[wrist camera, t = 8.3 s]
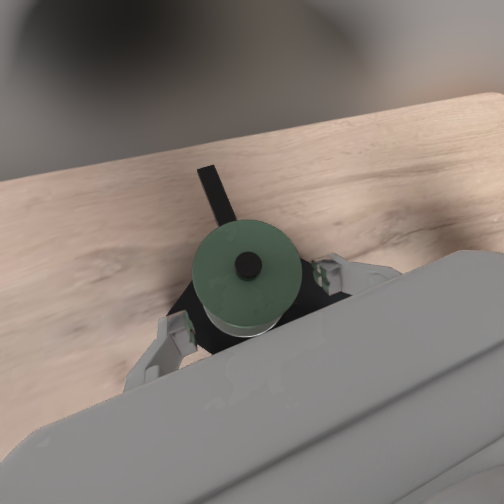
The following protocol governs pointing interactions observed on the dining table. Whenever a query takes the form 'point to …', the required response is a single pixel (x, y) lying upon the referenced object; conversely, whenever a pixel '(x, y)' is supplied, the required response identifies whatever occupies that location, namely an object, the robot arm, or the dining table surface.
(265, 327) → the burner
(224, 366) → the robot arm
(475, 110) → the dining table surface
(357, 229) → the dining table surface
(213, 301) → the saucepan
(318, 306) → the hob
